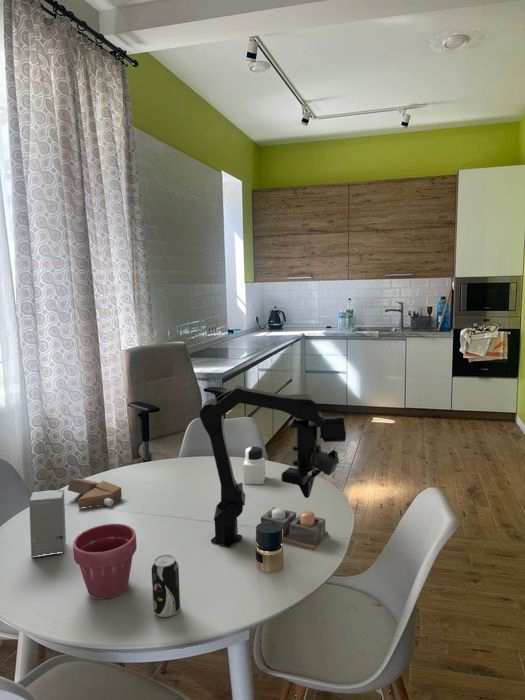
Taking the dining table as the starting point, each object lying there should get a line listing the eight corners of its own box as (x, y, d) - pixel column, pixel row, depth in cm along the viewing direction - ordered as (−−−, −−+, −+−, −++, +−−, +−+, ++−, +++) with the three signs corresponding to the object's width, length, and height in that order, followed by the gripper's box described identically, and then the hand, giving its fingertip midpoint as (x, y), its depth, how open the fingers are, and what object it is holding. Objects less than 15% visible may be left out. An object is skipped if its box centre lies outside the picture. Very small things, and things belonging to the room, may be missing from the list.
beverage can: (148, 611, 114) (145, 560, 112) (170, 599, 118) (168, 550, 116) (163, 623, 110) (160, 570, 108) (185, 610, 114) (183, 559, 112)
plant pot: (75, 578, 127) (72, 528, 125) (134, 566, 132) (132, 518, 130) (77, 613, 114) (73, 558, 112) (142, 598, 119) (139, 545, 117)
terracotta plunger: (310, 535, 141) (310, 518, 140) (298, 532, 143) (298, 515, 142) (316, 529, 144) (316, 512, 143) (304, 526, 146) (304, 509, 145)
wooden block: (98, 523, 163) (56, 505, 170) (127, 501, 174) (87, 485, 181) (97, 502, 160) (55, 485, 168) (126, 482, 171) (85, 466, 179)
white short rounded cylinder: (281, 532, 146) (281, 515, 145) (269, 529, 147) (269, 512, 147) (287, 526, 149) (287, 509, 148) (276, 523, 151) (275, 507, 150)
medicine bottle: (265, 476, 189) (264, 445, 187) (263, 484, 182) (262, 451, 180) (245, 476, 190) (245, 444, 188) (243, 484, 183) (242, 451, 181)
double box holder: (313, 550, 138) (313, 533, 137) (257, 535, 146) (257, 519, 145) (328, 534, 146) (328, 517, 145) (274, 521, 155) (274, 505, 154)
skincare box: (31, 559, 136) (26, 501, 134) (35, 546, 143) (30, 491, 141) (65, 554, 138) (61, 497, 136) (68, 541, 145) (64, 487, 143)
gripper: (319, 457, 128) (320, 517, 130) (347, 436, 144) (347, 490, 146) (279, 450, 134) (280, 508, 136) (310, 431, 150) (311, 483, 152)
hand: (307, 497), depth 142 cm, fingers closed
